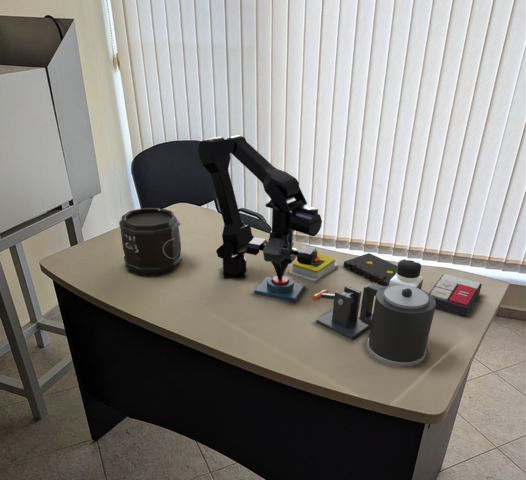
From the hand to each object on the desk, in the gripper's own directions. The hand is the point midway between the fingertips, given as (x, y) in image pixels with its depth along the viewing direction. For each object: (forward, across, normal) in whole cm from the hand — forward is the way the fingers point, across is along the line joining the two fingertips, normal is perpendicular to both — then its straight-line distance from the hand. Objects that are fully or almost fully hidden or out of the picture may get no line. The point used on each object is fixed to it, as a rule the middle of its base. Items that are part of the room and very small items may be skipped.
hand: (280, 278), depth 138 cm
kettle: (+4, +34, -15) cm, 37 cm away
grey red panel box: (+4, +46, +15) cm, 49 cm away
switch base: (+4, +21, -10) cm, 24 cm away
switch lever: (-2, +18, -9) cm, 20 cm away
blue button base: (+4, 0, 0) cm, 4 cm away
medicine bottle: (+4, +33, +9) cm, 34 cm away
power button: (+2, 0, 0) cm, 2 cm away
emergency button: (+4, +5, +18) cm, 19 cm away
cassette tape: (+4, +23, +24) cm, 34 cm away
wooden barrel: (+4, -42, +1) cm, 42 cm away
